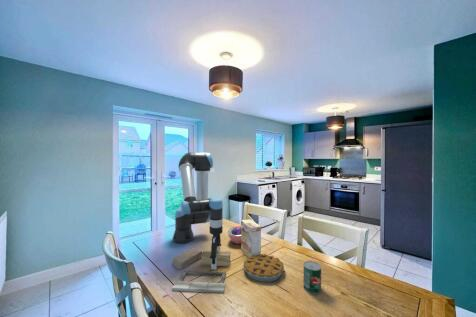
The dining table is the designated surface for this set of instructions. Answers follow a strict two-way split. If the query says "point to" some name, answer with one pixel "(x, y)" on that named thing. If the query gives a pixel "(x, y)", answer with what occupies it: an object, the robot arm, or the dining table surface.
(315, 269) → the canned tomato
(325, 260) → the dining table surface
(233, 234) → the cell model
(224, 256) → the plank
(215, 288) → the floor panel
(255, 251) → the coffeecake box
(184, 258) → the brick
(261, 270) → the pie
